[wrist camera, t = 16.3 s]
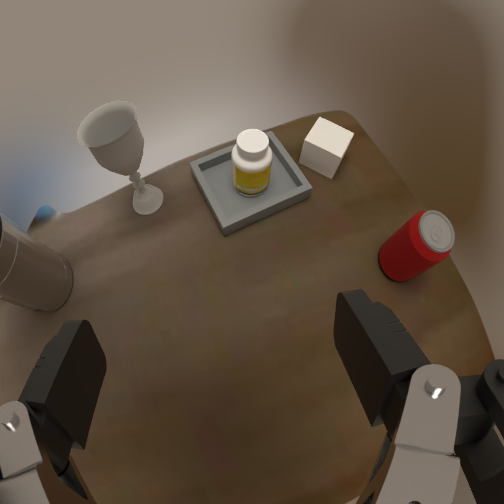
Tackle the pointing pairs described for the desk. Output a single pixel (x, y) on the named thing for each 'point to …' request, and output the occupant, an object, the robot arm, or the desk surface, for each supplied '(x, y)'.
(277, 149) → the tray
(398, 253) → the beverage can
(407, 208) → the desk surface
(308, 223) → the desk surface
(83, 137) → the chalice
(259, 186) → the supplement bottle
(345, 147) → the white cube
